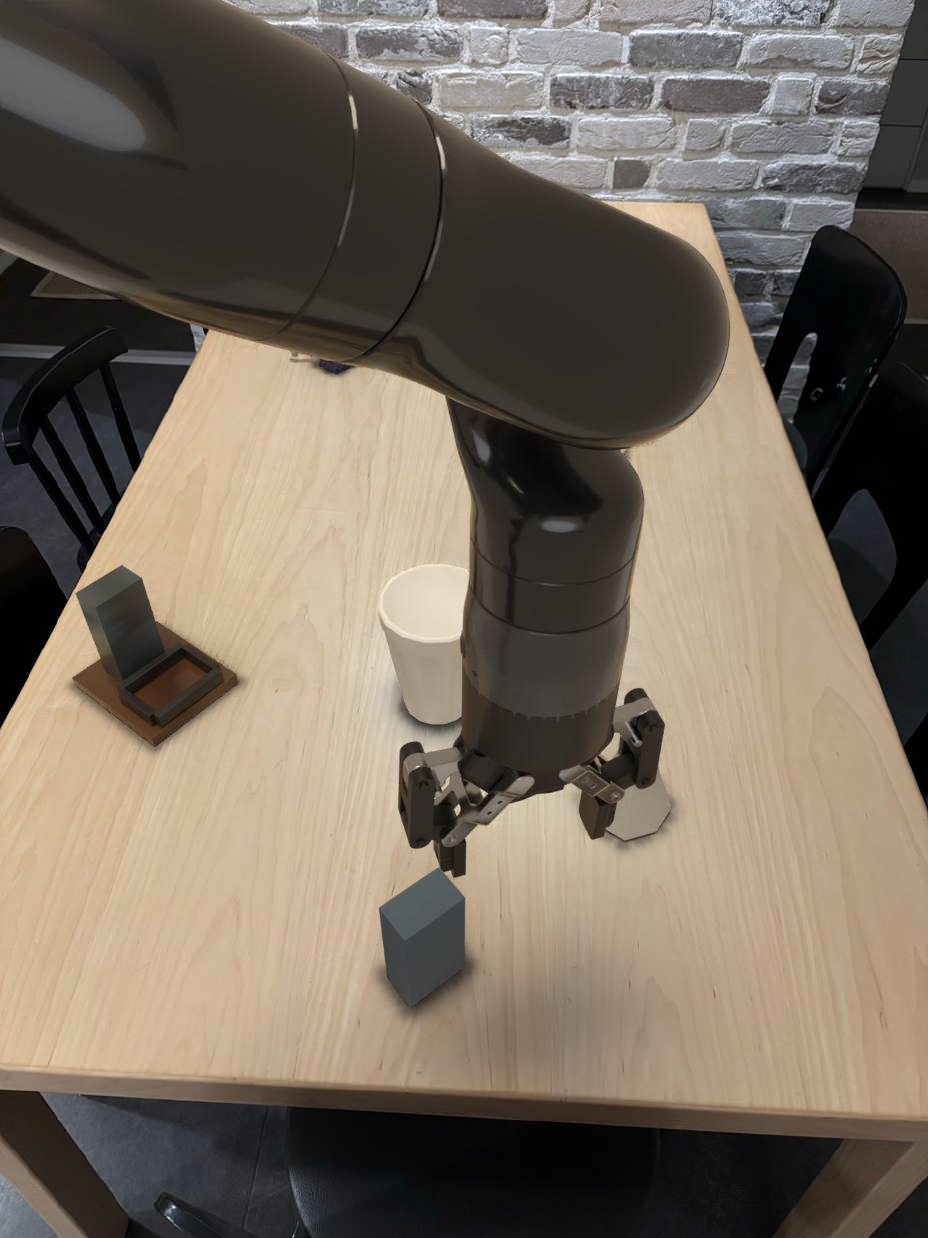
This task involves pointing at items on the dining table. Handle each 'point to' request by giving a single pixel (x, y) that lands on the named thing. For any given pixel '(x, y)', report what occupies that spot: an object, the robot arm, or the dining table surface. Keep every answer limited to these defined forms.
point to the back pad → (423, 936)
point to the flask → (640, 810)
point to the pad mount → (144, 661)
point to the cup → (426, 638)
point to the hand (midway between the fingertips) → (523, 844)
